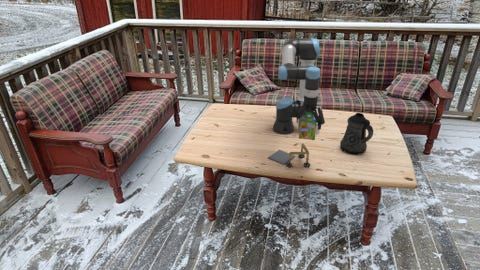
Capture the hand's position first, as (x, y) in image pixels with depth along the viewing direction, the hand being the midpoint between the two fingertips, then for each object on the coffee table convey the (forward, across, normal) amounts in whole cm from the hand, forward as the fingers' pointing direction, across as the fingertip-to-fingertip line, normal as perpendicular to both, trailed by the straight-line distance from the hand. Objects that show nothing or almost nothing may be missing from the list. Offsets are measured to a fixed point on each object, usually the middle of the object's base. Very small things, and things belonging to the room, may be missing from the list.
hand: (307, 131), depth 194 cm
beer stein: (+22, +16, +36) cm, 45 cm away
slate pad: (+22, -15, -3) cm, 27 cm away
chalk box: (+3, 0, 0) cm, 3 cm away
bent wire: (+22, -2, -1) cm, 22 cm away
